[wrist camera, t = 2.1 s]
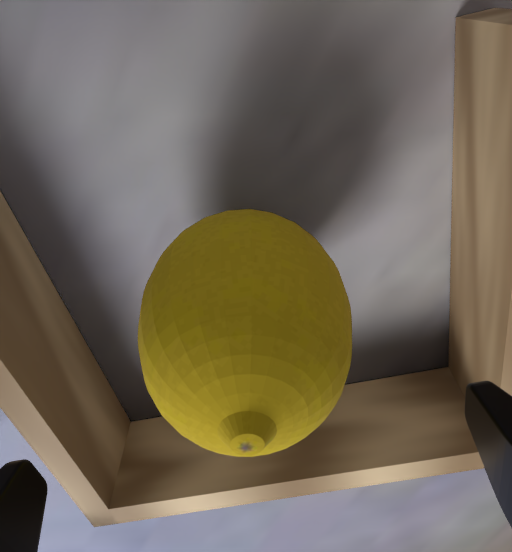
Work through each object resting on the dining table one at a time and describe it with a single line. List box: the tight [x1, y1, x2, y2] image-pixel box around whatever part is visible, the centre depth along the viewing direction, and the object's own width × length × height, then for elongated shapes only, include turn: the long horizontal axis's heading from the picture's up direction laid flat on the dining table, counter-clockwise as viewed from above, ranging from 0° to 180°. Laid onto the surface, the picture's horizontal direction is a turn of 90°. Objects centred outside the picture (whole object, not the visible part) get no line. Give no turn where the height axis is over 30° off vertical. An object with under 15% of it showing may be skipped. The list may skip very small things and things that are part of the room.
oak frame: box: [0, 8, 512, 527], centre depth 15 cm, size 16×14×4 cm
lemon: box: [138, 209, 352, 457], centre depth 12 cm, size 6×6×8 cm
